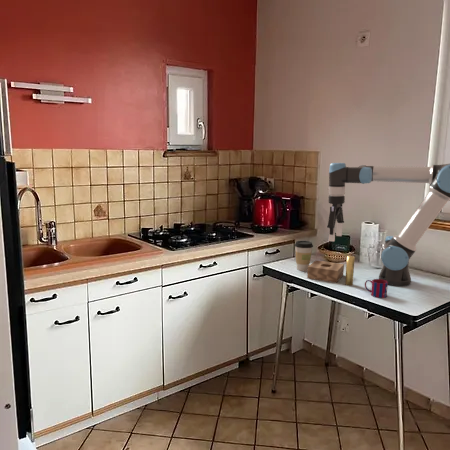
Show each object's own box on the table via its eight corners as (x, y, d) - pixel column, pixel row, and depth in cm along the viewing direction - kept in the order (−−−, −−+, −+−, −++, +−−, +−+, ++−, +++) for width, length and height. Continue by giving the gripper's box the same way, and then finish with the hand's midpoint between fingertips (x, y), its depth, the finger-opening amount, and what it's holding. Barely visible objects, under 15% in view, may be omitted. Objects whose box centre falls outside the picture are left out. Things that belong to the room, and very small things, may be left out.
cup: (382, 299, 203) (384, 284, 202) (361, 293, 209) (362, 279, 208) (389, 295, 208) (390, 281, 207) (368, 290, 214) (369, 276, 213)
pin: (353, 284, 224) (355, 256, 221) (351, 286, 220) (353, 258, 218) (346, 282, 225) (347, 255, 223) (344, 284, 222) (346, 257, 219)
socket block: (343, 275, 238) (344, 264, 237) (336, 282, 226) (337, 270, 224) (315, 271, 244) (315, 260, 243) (307, 278, 232) (307, 266, 231)
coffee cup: (311, 272, 242) (313, 245, 239) (293, 271, 244) (294, 243, 241) (312, 267, 251) (313, 240, 249) (294, 266, 253) (295, 239, 251)
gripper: (335, 192, 232) (334, 233, 236) (321, 197, 210) (320, 242, 214) (350, 192, 228) (349, 234, 232) (337, 198, 207) (336, 244, 210)
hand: (335, 238), depth 223 cm, fingers open, 13 cm apart
